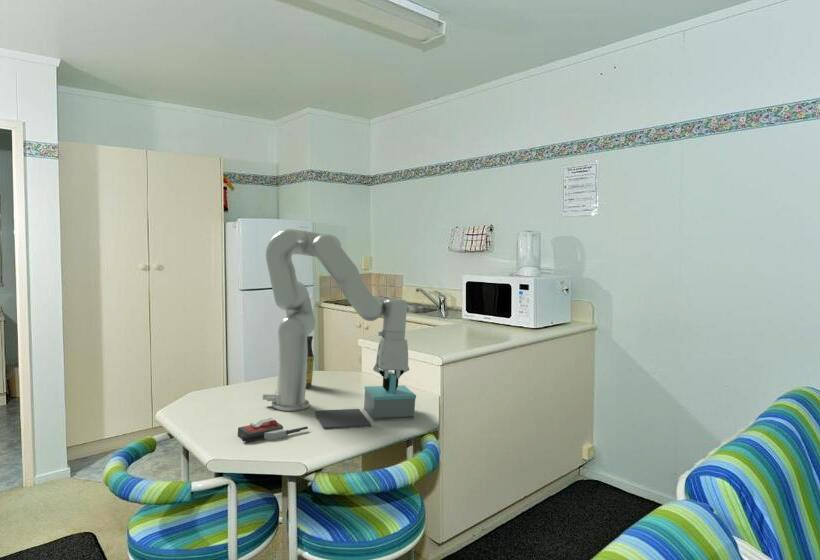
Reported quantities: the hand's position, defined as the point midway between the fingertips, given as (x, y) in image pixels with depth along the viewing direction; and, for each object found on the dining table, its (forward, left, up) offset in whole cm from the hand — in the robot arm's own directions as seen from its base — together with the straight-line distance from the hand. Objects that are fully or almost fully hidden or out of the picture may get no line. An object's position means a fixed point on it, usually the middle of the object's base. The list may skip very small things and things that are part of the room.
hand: (390, 389), depth 181 cm
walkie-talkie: (-39, -13, -9) cm, 43 cm away
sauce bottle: (-23, +37, -9) cm, 44 cm away
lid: (0, 0, -3) cm, 3 cm away
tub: (0, 0, -9) cm, 9 cm away
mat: (-16, -3, -9) cm, 19 cm away
